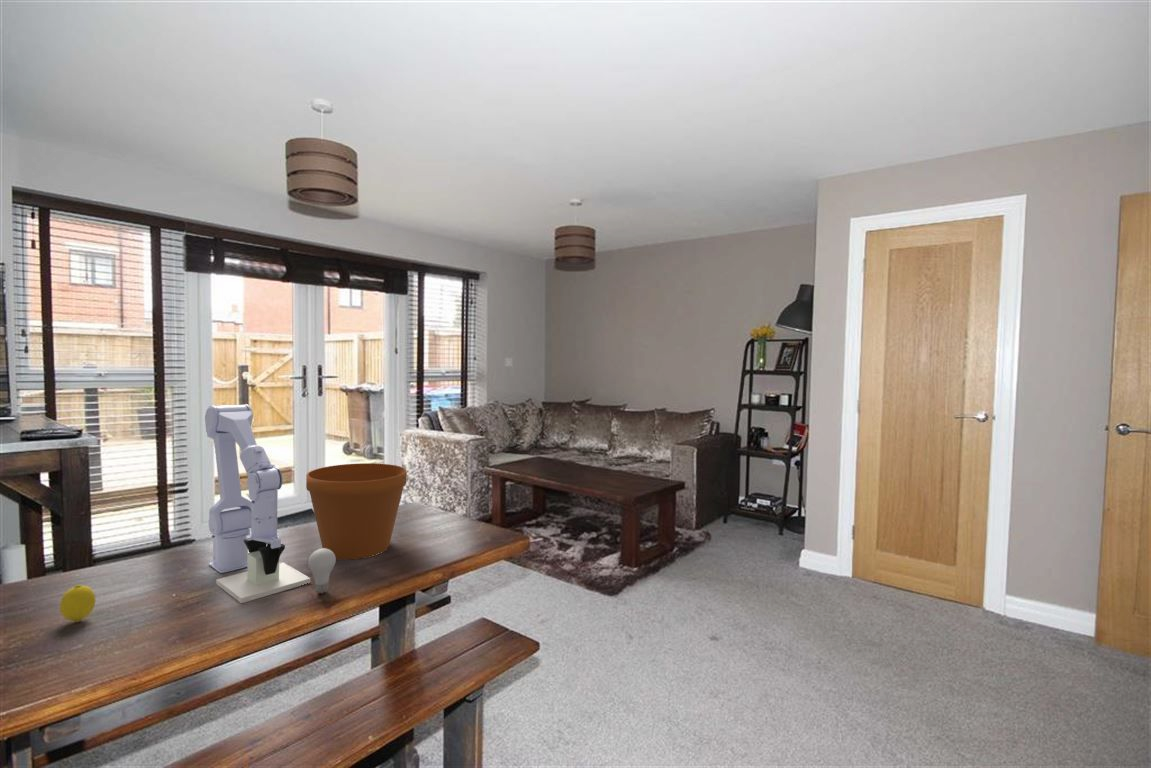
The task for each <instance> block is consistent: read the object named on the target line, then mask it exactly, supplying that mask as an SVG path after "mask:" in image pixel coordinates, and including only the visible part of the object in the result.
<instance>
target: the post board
mask: <svg viewBox="0 0 1151 768" xmlns="http://www.w3.org/2000/svg"><path fill="white" fill-rule="evenodd" d="M215 583H216V585H217V586H218V587H219V588H221V590H223V591H225V592H226V593H227V594H229V596H231V597H232V598H234V599H235V600H236V601H237V602H239V603H240V604H244V603H247V602H250V601H253V600H257V599H261V598H264V597H267V596H271V595H273V594H277V593H278V594H279V593H281V592H285V591H287V590H291V589H295V588H298V587H301V585H302V586H304V584H305V585H308V584H311V577H309V576H307V575H306V574H304V573H302V572H300V571H299V570H297V569H296V568H294V567H292V566H290V565H289V564H287V563H285V562H279V579H277V580H273V581H269V582H266V583H262V584H258V585H255V584H254V583H252V582H251V581H249V580H248V579H247V571H243V572H239V573H236V574H232V575H228V576H224V577H220V578H217V579H216V580H215ZM307 583H308V584H307Z"/></svg>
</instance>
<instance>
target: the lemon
mask: <svg viewBox="0 0 1151 768" xmlns="http://www.w3.org/2000/svg"><path fill="white" fill-rule="evenodd" d="M95 605H96V596H95V592H94V590H93V589H92V588H91V587H90V586H87V585H82V584H76V585H75V586H73V587H71V588H70V589H68V590H67V591H65V593H63V595H62V598H61V599H60V604H59V611H60V614H61V616H62V617H63V618H64V619H65V620H68V621H74V623H79V622H81V621H82V620H83V619H84V618H86V617H87V616H89V615H90V614H91V613H92V612H93V610H94V608H95Z"/></svg>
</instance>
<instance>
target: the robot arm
mask: <svg viewBox="0 0 1151 768" xmlns="http://www.w3.org/2000/svg"><path fill="white" fill-rule="evenodd" d="M253 414H254V413H253V409H252V407H251V406H250V404H247V403H244V404H229V405H209V406H208V407H207V409H206V411H205V415H204V424H205V433H206V435H207V436H206V437H207V438H210V439H212V440H213V446H214V452H215V453H214V454H215V460H216V461H215V462H216V471H217V480H218V489H219V497H220V499H219V500H218V501H217V502H216V503H214V504H213V505H212V506H211V507H210V508H209V512H208V513H209V514H208V515H209V517H208V529H209V532H210V534H211V535H213V538H214V539H213V542H212V561H211V562H209V563H208V565H209V566H210V567H212V569H215V570H216V571H217V572H219V574H223V573H229V572H233V571H237V570H241V569H245V568H247V553H251V552H256V551H259V552H260V553H261V556H262V559H263V564H264V571H265V574H266V575H268V574H272V573H275V571H276V568H277V564H278V561H279V562H280V557H281V555H282V553H283V552H284V550H285V549H286V545H285V544H284V543H282V541H281V538H280V537H279V536H280V535H279V531H278V501H279V498H278V493H279V492H278V490H281V489H282V485H283V482H284V481H283V474H282V472H281V469H280V468H279V467H277V466H276V465H275V464H272V463H271V461H270V459H269V456H268V454H267V453H266V451H265V448H264V447H263V446H260V445H258V443H257V441H256V439H255V436H254V435H255V434H254V432H253V429H252V427H251V426H252V423H253V418H254V415H253ZM236 443H237V445H236ZM237 446H238V447H239V449H240V451H241V452H240V455H239V459H240V462H241V464H242V465H243V468H244V470H245V472H246V475H247V480H246V485H247V489H248V497H249V499H248V498H246V497H244V496H242V487H241V480H240V479H241V478H240V472H239V462H238V456H237V454H238V453H237ZM234 508H235V509H234ZM228 509H229V510H228ZM223 510H224V511H223Z"/></svg>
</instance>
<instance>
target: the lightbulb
mask: <svg viewBox="0 0 1151 768" xmlns="http://www.w3.org/2000/svg"><path fill="white" fill-rule="evenodd" d="M336 560H337V559H336V557H335V554H334V553H333V552H332V551H331V550H329V549H326V548H318V549H316V550H314V551H313V552H312V553H311V554H310V556H309V558H308V563H307V564H308V569H309V570H310V572H311V574H312V575H313V579H314V584H315V592H316V593H318V594H320V593H321V594H325V592H328V586H329V585H328V584H329V581H330V576H331V572H332V570H333V569H334V567H335V565H336Z"/></svg>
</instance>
